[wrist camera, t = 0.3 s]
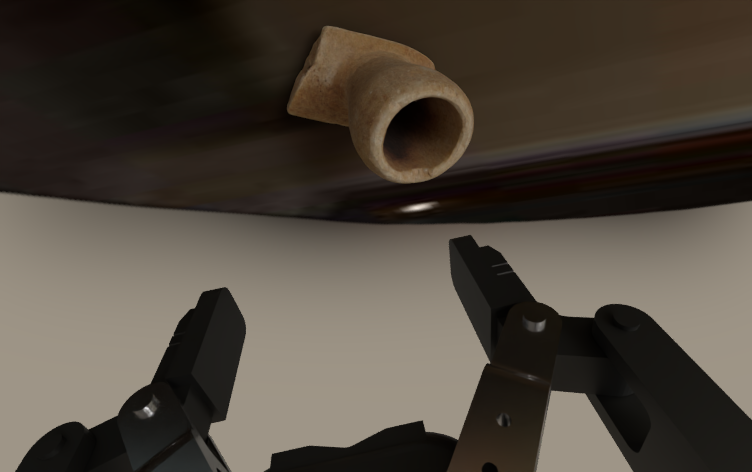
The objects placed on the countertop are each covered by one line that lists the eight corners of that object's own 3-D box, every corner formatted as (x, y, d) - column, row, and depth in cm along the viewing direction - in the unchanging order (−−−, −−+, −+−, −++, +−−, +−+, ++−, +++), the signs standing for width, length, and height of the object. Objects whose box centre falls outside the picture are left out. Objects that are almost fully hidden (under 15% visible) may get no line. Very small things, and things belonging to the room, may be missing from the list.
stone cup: (453, 35, 37) (515, 116, 28) (406, 131, 45) (442, 218, 36) (309, -19, 31) (326, 61, 22) (284, 103, 39) (289, 199, 30)
